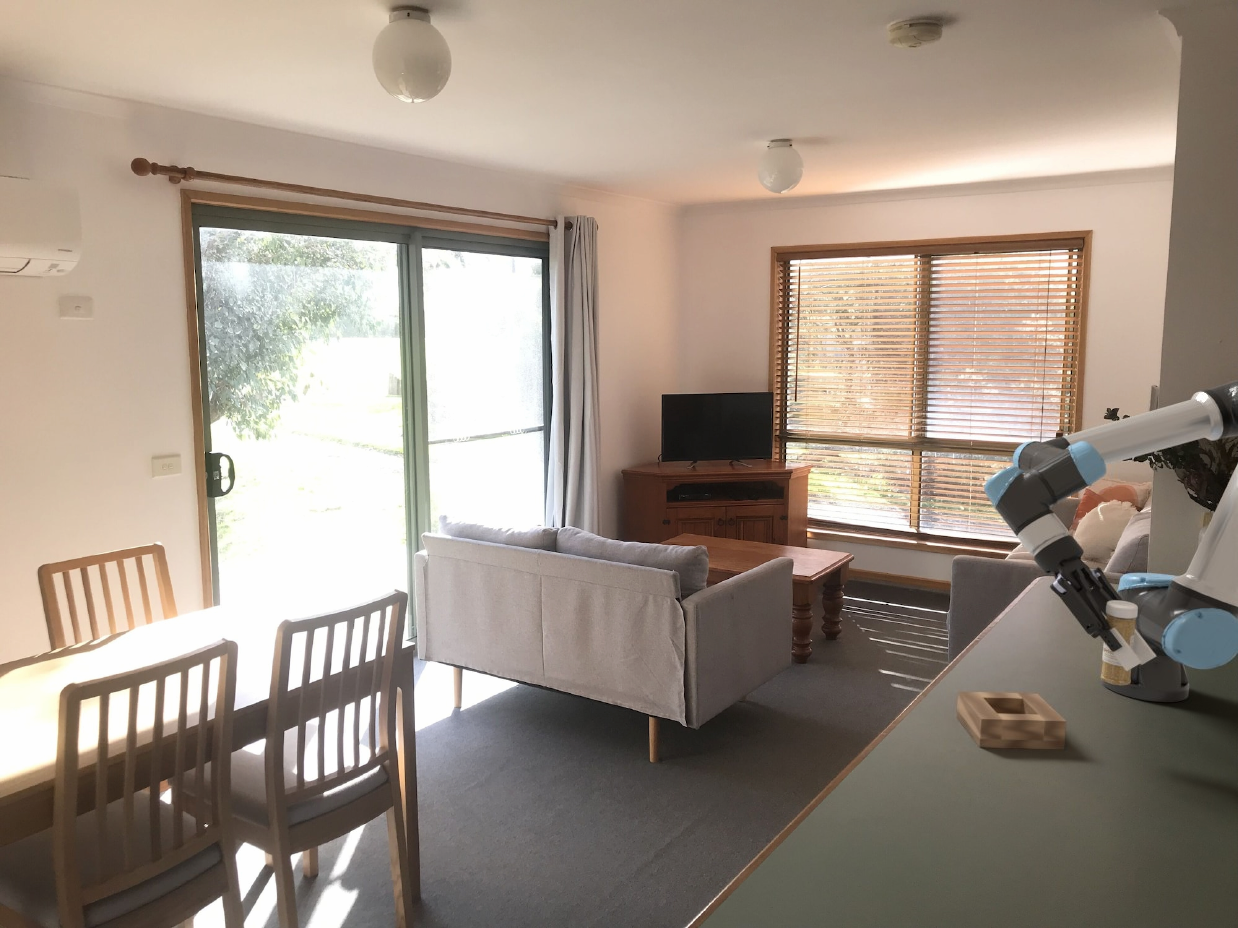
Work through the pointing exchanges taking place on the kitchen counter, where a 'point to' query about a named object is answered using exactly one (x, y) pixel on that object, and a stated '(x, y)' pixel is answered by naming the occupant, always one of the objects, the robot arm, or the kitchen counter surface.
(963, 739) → the kitchen counter surface
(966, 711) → the brown wooden square frame
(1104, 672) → the sprinkles bottle
